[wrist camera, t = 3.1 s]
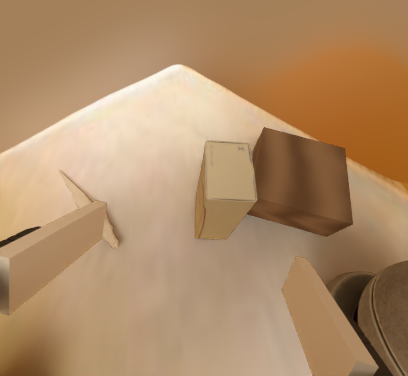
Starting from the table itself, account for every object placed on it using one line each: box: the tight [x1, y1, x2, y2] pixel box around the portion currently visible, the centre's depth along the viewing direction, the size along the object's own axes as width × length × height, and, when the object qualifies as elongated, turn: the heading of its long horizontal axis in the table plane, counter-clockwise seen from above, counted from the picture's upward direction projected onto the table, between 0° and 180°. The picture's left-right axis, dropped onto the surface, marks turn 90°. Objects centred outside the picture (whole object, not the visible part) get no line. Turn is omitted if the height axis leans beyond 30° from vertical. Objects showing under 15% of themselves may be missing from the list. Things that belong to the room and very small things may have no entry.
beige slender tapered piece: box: [59, 170, 119, 248], centre depth 27 cm, size 15×3×2 cm, turn 44°
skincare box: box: [195, 141, 257, 239], centre depth 23 cm, size 6×4×12 cm
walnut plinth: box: [247, 127, 353, 236], centre depth 30 cm, size 12×12×5 cm
